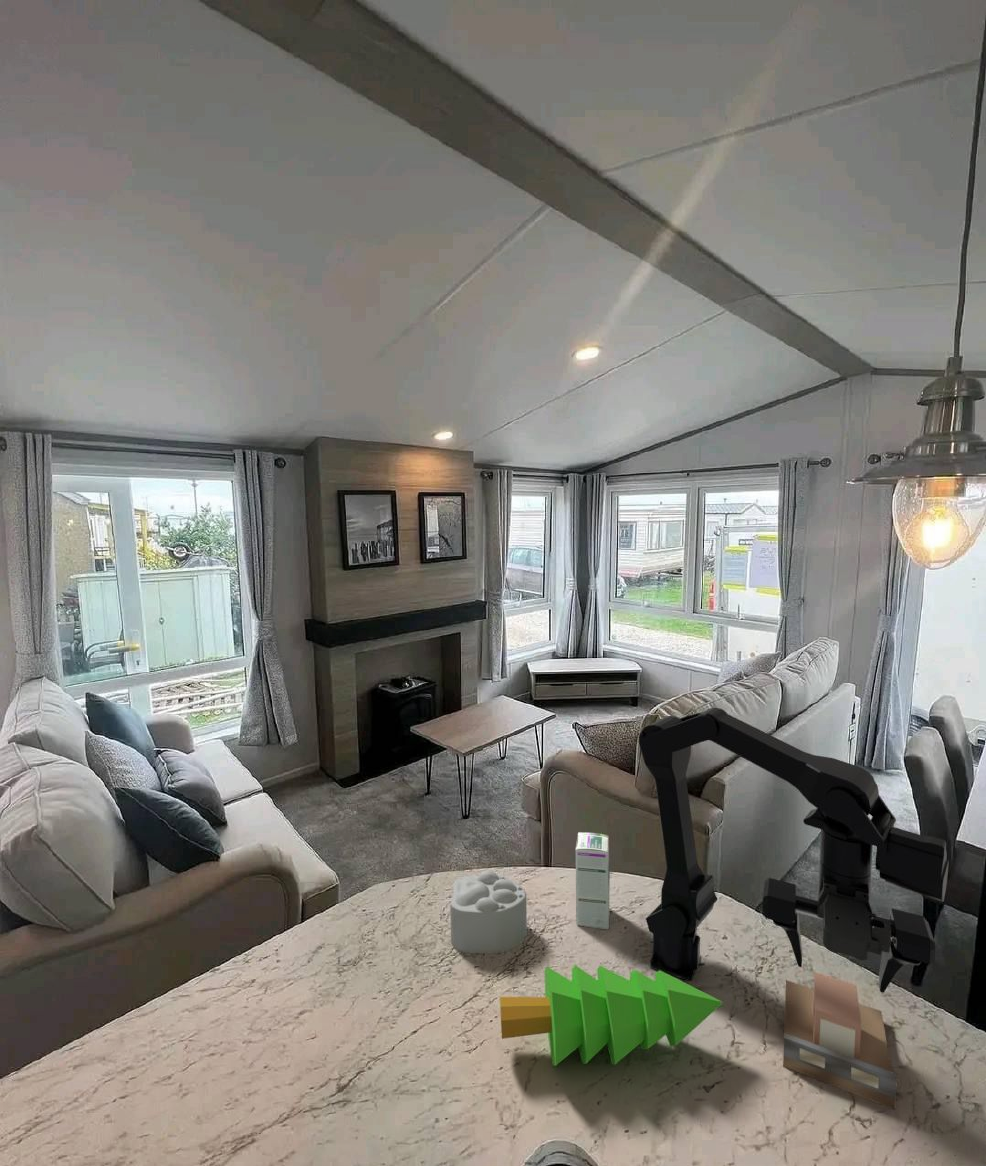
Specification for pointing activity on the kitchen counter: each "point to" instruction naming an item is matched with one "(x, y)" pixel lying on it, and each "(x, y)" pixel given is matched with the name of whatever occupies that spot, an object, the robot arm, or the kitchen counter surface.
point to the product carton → (836, 1015)
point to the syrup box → (592, 880)
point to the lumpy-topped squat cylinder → (487, 913)
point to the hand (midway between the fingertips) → (839, 977)
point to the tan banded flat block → (832, 1067)
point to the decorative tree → (606, 1012)
